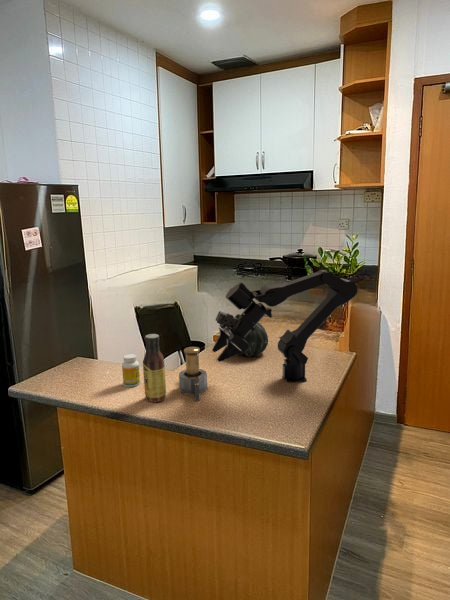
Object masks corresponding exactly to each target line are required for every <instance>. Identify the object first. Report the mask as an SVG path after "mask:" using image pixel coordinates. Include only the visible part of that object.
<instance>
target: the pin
mask: <svg viewBox="0 0 450 600" xmlns="http://www.w3.org/2000/svg"><path fill="white" fill-rule="evenodd" d="M200 351H201V350H200V347H199V346H189V347H188V346H187V347H185V348H184V349H183V353H184V354H185V370H186V376H187V377H197V376H199V369H200V361H199V360H200V359H199V355H200V354H199V353H200Z"/></svg>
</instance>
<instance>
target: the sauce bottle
mask: <svg viewBox="0 0 450 600" xmlns="http://www.w3.org/2000/svg"><path fill="white" fill-rule="evenodd" d="M144 336H145V337H144V341H145V346H146V347H145V348H146V349H145V353H144V357H143V360H142V370H143V384H144V385H143V386H144V395H145V399H146V401H147V402H150V403H159V402H162V401H164V400H165V398H166V397H167V390H166V387H167V385H166V371H165V370H166V367H165V358H164V354H163V353H162V352H161V350H160V335H159V334H157V333H149V334H146V335H144Z"/></svg>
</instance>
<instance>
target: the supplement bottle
mask: <svg viewBox="0 0 450 600" xmlns="http://www.w3.org/2000/svg"><path fill="white" fill-rule="evenodd" d="M121 369H122V382H123V383H122V384H123V386H125V387H126V388H128V387H129V388H132V387H133V388H134V387H137V386H139V385H140V383H141V377H140V376H141V375H140V364H139V361H138V360H137V355H136V354H134V353H133V354H132V353H131V354H130V353H129V354H125V355H124V356H123V362H122V364H121Z"/></svg>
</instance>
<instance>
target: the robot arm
mask: <svg viewBox="0 0 450 600" xmlns="http://www.w3.org/2000/svg"><path fill="white" fill-rule="evenodd" d="M322 285H325V286H326V287H329V288H328V291H327V295H326V297H325V298H324V299H323V300H322V301H321V303H319V305H317V307H316V308H315V309H314V310H313V311H312V312H311V313H310V314H309V316H307V317H306V319H305V320H304V321H303V322H302V323H301V324H300V325H299V326H298V327H297V328H296V329H295V330H294V329H293V330H292V331H291V330H290V329H287V330H285V332H284V333H283V334H282V335H281V336H279V338H278V339H279V340H278V342H277V349H278V352H279V353H281V354H282V356H283V358H284V359H283V361H284V363H282V377H283V378H284V379H285V381H286V382H287V383H293V382H296V383H297V382H306V381H307V378H306V364H307V362H308V359H309V358H308V356H307V355H305V353H304V352H303V351H304V349H305V347H306V345H307V341H308V339H309V338H310V337H311V336H312V335H313V334H314V333H315V332H316V331H317V330H318V329H319V328H320V327H321V326H322V324H323V323H324V322H326V320H327V319H328V318H329V317H330V316H331V315H332V314H333V313H334V312H335V310H337V308H339V307H341V306H343V305H345V304H347V303H349V302H350V301H351V300H352V299H354V298H355V297H356V296H357V294H358V286H357V284H356V283H355V282H354V281H352V280H348V279H346V278H340V277H338V276H336V275H334V274H332V273H331V272H329V271H327V270H324V269H320V270H318V271H316V272H314V273H310V274H308V275H305V276H302V277H299V278H297V279H294V280H290V281H287V282H283V283H273V284H266V285H264V286H262V287H260V289H255V290H252V291H251V290H250V289H249V288H248V287H247V286H246V285H245V284H244V283H243V282H242V281H240V282H239V283H238V284H235V285H234V286H233V287H231V288H230V289H229V290H228V292H226V295H225V299H226V300H227V301H229V302H230V303H231V304H232V305H233V306H234V307H235V308H236V309H238V310H243V311H242V313H237V314H236V315H235V316H234V315H233V314H230V313H229V312H228V313H227V312H224V311H221V310H219V311H218V312H217V315H216V318H215V321H216V324H219V328H218V330H219V336H218V338H217V340H216V341H215V343H214V346H213V347H212V350H211V351H212V352H213V353H216V352H218V351H219V350H221V349H222V348H224V347H225V348H224V349H223V350H222V351H221V353H220V354H219V356H218V358H217V361H218V362H219V363H220V362H222V361H225V360H227V359H230V358H232V357H235V356H237V355H243V354H242V353H243V352H244V353H246V352H247V351H248V350H249V344H248V343H247V341H246V338H245V337H246V335H247V334H248V333H249V332H250V331H251V330H252V331H254V330H255V328H254V327H255V324H257V323H260V321H261V320H262V319H263V318H264V316H267V317H269V319H272V318H273V316H272V315H273V314H272V308H273V307H277V306H278V305H280V304H282V303H283V302H285V301H287V299H289V298H290V297H292V296H293V295H295V296H296V294H300V293H303V292H306V291H308V290H311V289H314V288H317V287H320V286H322ZM254 300H256V301H257V302H258V303H257V302H256V301H254ZM264 304H265V305H266V306H268V307H266V306H265V305H264ZM270 307H271V308H270ZM254 323H255V324H254ZM242 351H243V352H242Z"/></svg>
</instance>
